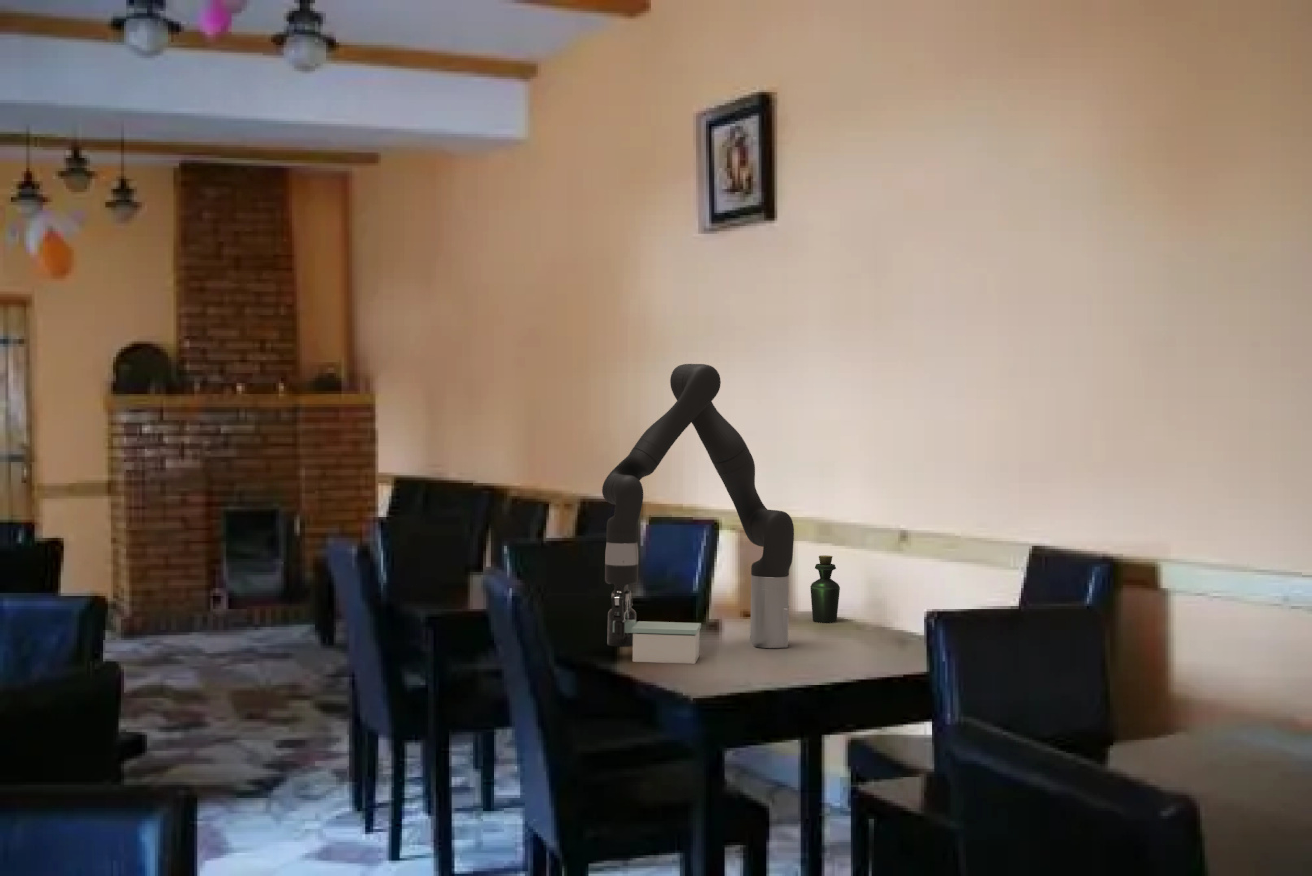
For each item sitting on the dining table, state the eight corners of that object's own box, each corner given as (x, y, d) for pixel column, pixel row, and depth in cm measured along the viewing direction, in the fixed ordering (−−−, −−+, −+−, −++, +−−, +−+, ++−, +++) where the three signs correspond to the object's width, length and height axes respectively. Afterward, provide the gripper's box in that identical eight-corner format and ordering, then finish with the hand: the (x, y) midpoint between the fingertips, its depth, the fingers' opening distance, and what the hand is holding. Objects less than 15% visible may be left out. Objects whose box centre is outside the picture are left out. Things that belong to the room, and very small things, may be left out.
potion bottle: (826, 618, 387) (827, 554, 387) (845, 622, 380) (846, 556, 380) (803, 620, 382) (804, 555, 382) (822, 624, 376) (823, 558, 375)
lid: (701, 631, 318) (701, 619, 318) (696, 639, 308) (696, 626, 307) (617, 629, 320) (617, 617, 320) (610, 636, 310) (610, 623, 310)
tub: (699, 659, 318) (699, 629, 318) (694, 667, 308) (695, 635, 308) (638, 657, 320) (639, 627, 320) (632, 664, 310) (632, 633, 310)
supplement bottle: (632, 650, 329) (632, 600, 329) (604, 649, 331) (605, 599, 330) (638, 645, 336) (639, 596, 336) (611, 644, 337) (611, 595, 337)
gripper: (633, 565, 307) (632, 643, 308) (642, 559, 321) (641, 633, 322) (600, 565, 308) (599, 642, 308) (610, 558, 322) (609, 632, 323)
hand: (620, 637), depth 315 cm, fingers closed on lid, 4 cm apart
